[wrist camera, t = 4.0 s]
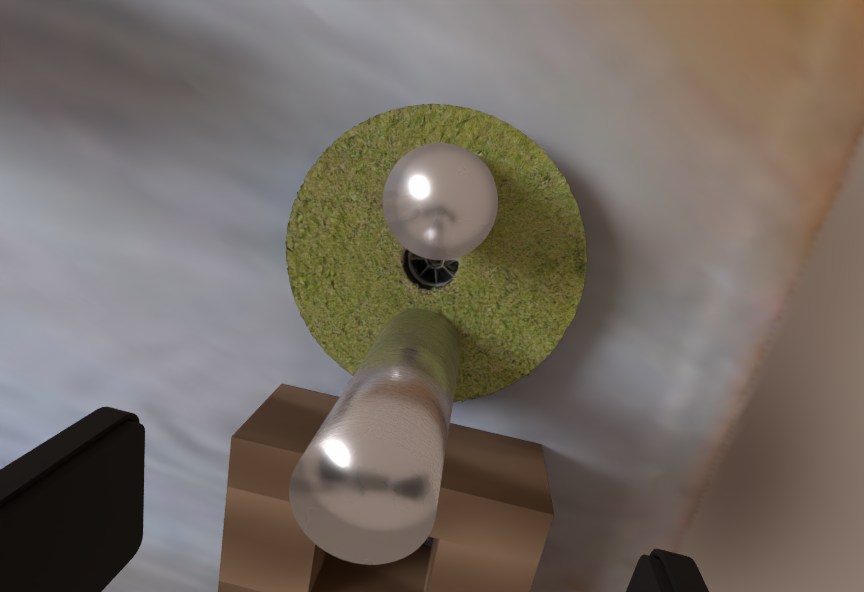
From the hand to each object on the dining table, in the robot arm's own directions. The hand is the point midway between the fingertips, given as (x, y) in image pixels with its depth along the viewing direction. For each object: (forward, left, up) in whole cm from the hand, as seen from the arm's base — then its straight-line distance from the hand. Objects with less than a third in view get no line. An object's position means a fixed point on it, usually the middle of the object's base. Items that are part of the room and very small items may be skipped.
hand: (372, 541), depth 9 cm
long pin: (0, +1, -10) cm, 10 cm away
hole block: (-9, +1, -12) cm, 15 cm away
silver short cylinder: (+6, +1, -10) cm, 12 cm away
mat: (+3, +1, -13) cm, 13 cm away
